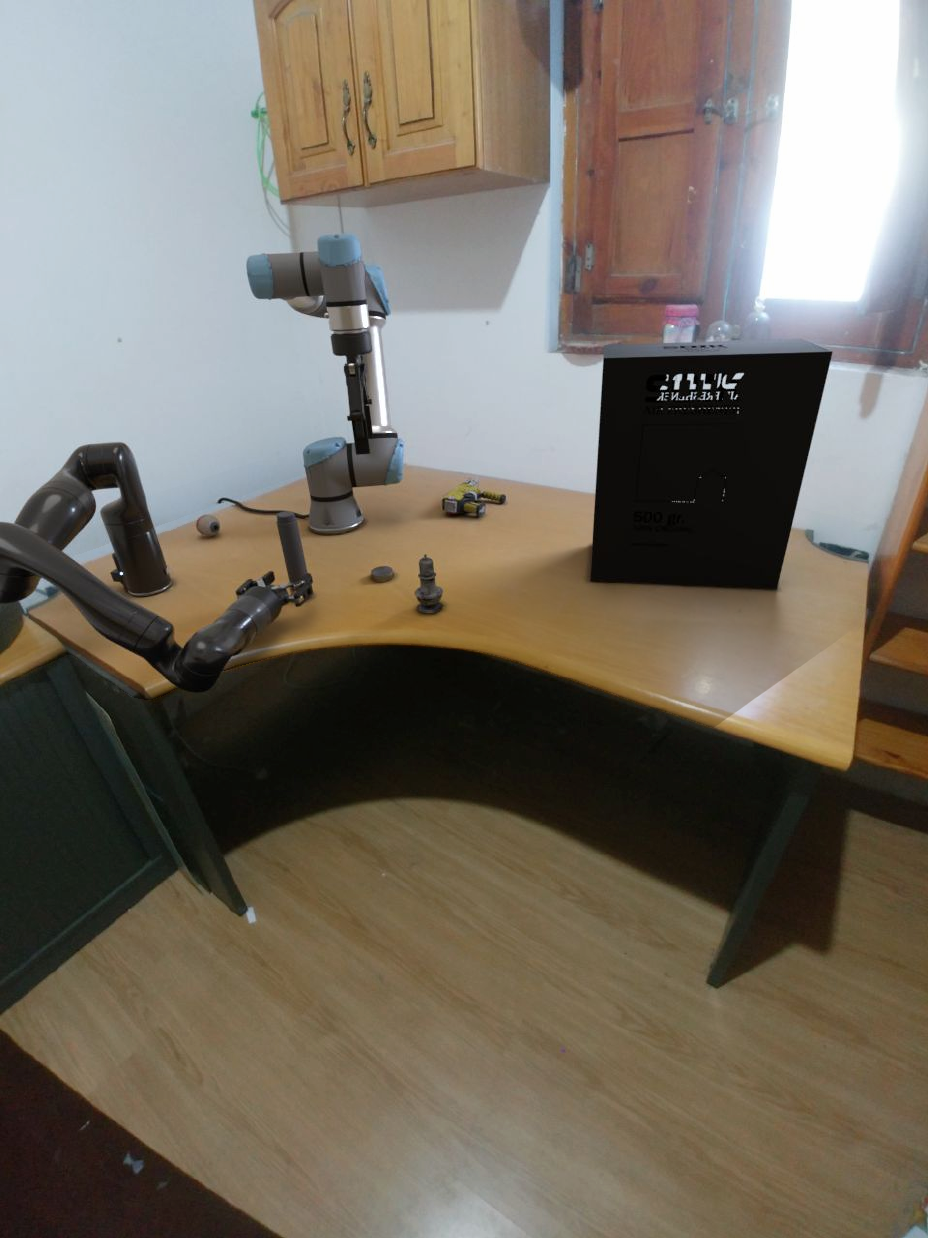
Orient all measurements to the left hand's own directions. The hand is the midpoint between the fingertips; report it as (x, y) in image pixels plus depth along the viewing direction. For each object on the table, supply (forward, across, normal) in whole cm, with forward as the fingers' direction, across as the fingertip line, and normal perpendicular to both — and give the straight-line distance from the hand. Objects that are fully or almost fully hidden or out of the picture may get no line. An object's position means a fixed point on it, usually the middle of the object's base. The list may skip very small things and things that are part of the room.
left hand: (291, 576), depth 126 cm
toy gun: (+65, -27, +6) cm, 70 cm away
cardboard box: (+28, -80, +6) cm, 85 cm away
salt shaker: (+2, -29, +6) cm, 30 cm away
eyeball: (+34, +42, +6) cm, 55 cm away
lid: (+14, -14, +5) cm, 21 cm away
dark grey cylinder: (+3, 0, +7) cm, 7 cm away
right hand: (+15, -14, -24) cm, 31 cm away
